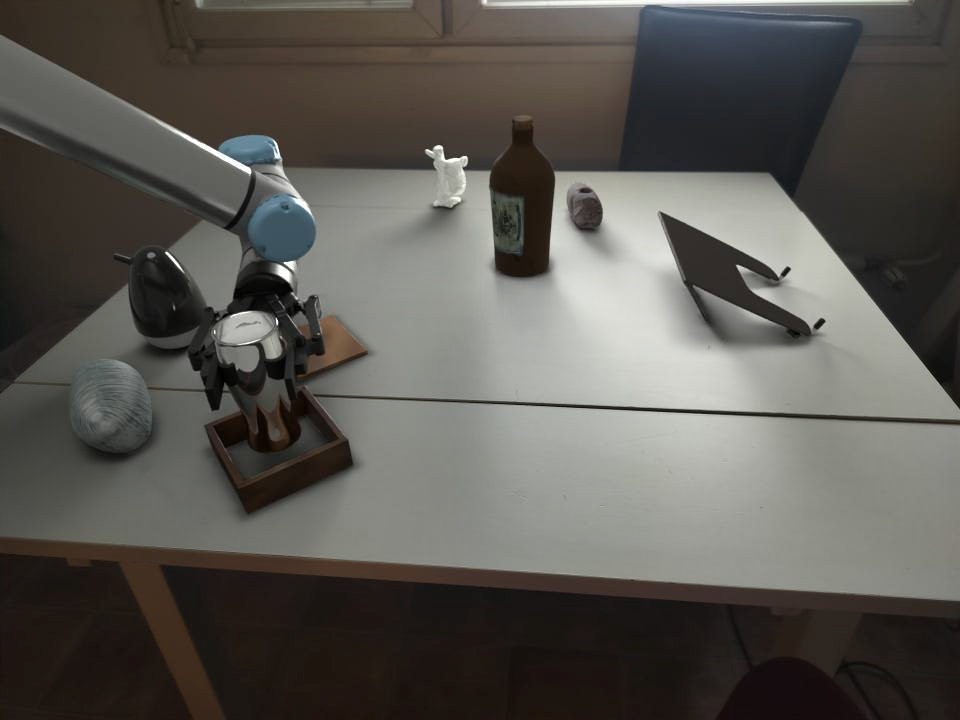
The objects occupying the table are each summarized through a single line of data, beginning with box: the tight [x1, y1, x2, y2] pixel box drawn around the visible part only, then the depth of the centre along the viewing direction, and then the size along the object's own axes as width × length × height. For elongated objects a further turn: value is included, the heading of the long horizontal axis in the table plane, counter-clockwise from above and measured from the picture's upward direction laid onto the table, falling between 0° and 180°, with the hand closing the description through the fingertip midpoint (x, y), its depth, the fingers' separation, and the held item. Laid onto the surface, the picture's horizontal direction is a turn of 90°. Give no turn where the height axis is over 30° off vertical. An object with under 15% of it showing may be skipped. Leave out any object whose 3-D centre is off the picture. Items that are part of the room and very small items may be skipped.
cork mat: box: [282, 315, 368, 382], centre depth 97 cm, size 12×12×1 cm
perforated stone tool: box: [565, 181, 604, 230], centre depth 129 cm, size 15×5×7 cm, turn 6°
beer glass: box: [211, 311, 303, 455], centre depth 72 cm, size 7×7×15 cm
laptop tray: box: [657, 210, 827, 340], centre depth 101 cm, size 23×23×9 cm
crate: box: [203, 384, 354, 515], centre depth 77 cm, size 13×13×4 cm
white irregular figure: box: [424, 144, 469, 209], centre depth 136 cm, size 8×7×12 cm
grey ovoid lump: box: [68, 358, 153, 453], centre depth 82 cm, size 14×10×10 cm
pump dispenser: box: [112, 244, 209, 350], centre depth 96 cm, size 10×10×15 cm
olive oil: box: [488, 114, 556, 278], centre depth 109 cm, size 11×11×25 cm
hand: (251, 394), depth 67 cm, fingers closed on beer glass, 7 cm apart
